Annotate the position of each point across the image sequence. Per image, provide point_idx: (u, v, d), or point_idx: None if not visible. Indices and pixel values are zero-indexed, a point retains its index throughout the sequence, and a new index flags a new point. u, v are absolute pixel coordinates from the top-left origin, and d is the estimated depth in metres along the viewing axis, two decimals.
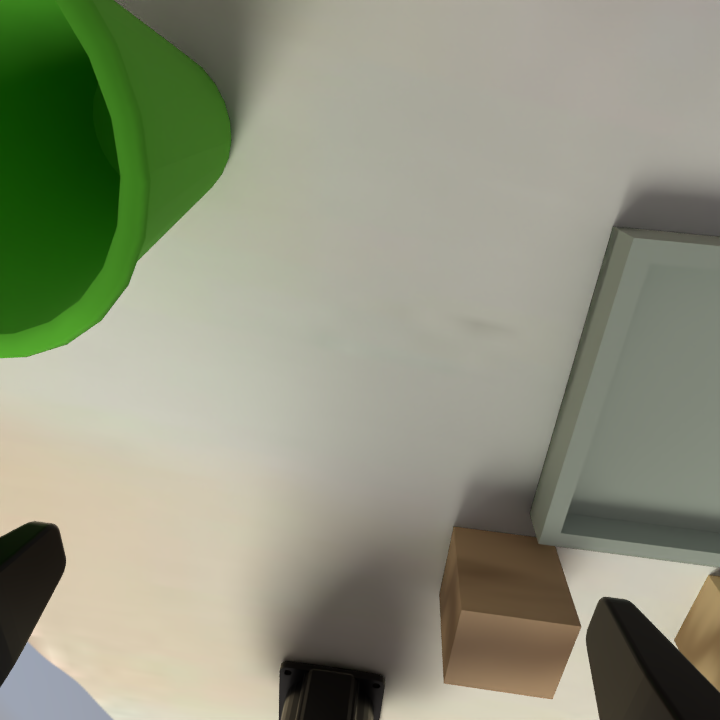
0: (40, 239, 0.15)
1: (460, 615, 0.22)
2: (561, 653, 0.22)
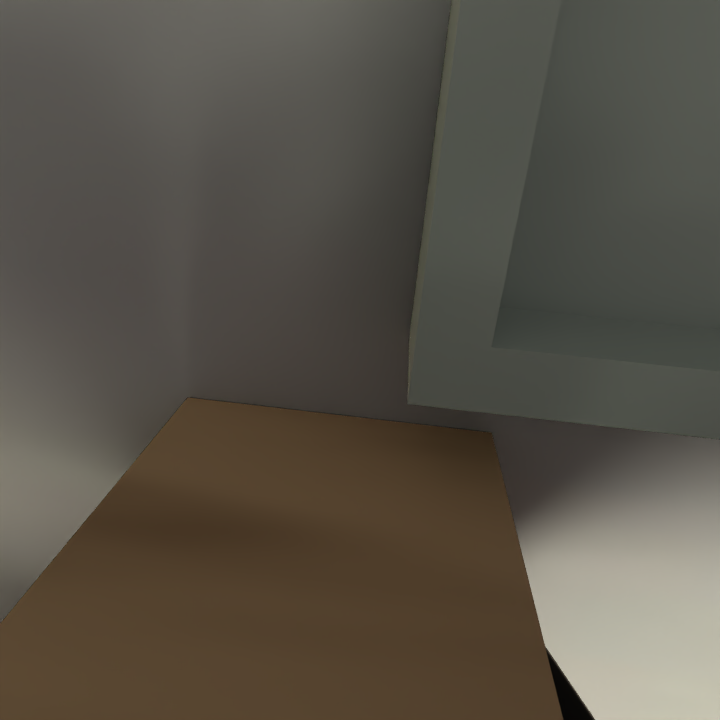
0: None
1: None
2: None
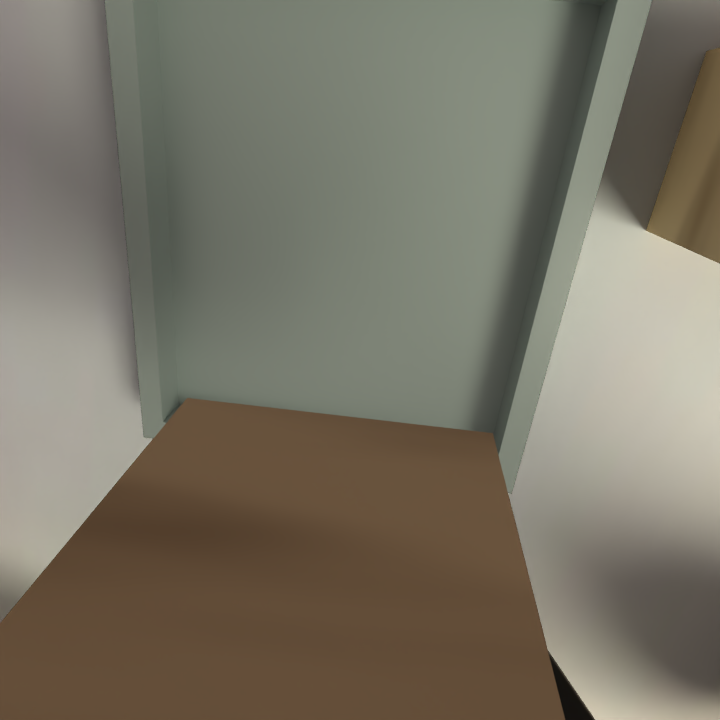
0: None
1: None
2: None
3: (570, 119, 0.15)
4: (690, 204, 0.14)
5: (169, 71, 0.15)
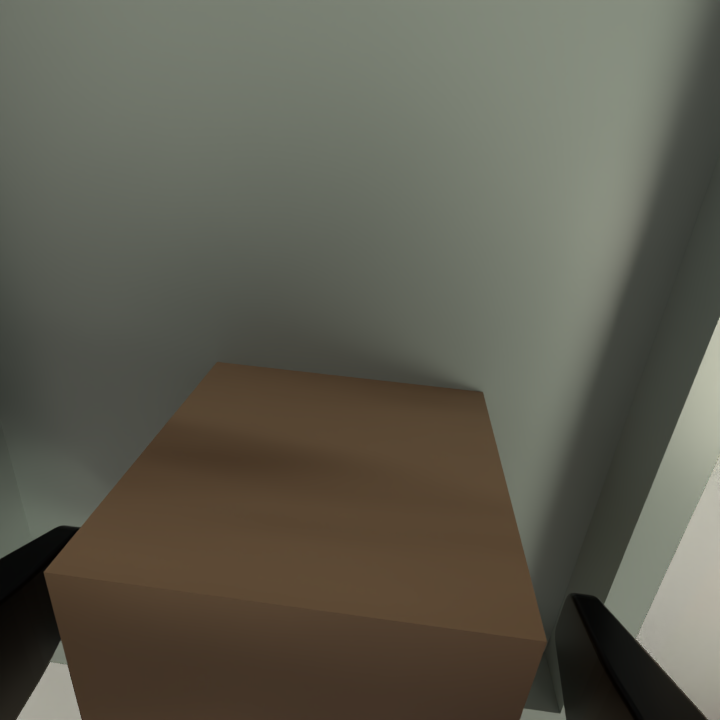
0: None
1: (54, 596, 0.05)
2: None
3: None
4: None
5: None
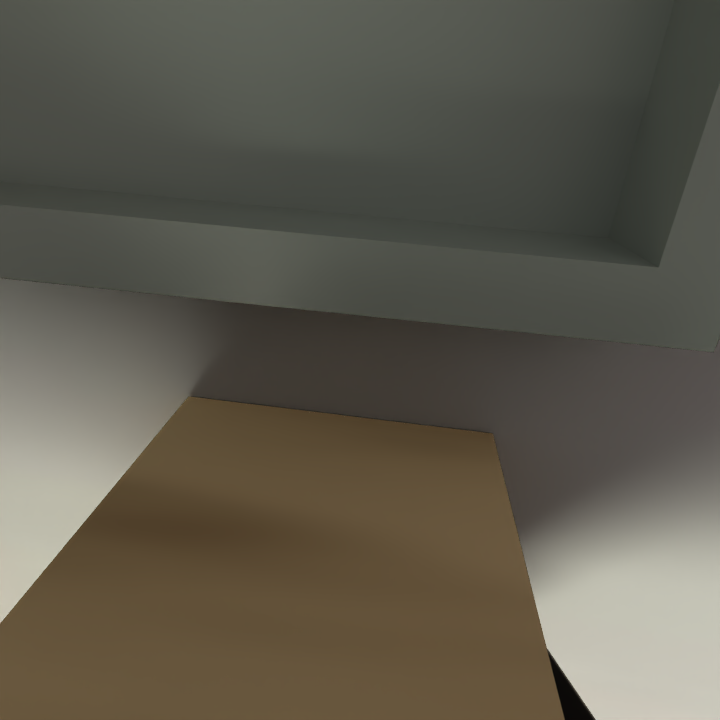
0: None
1: None
2: None
3: (378, 210, 0.06)
4: (203, 490, 0.06)
5: None
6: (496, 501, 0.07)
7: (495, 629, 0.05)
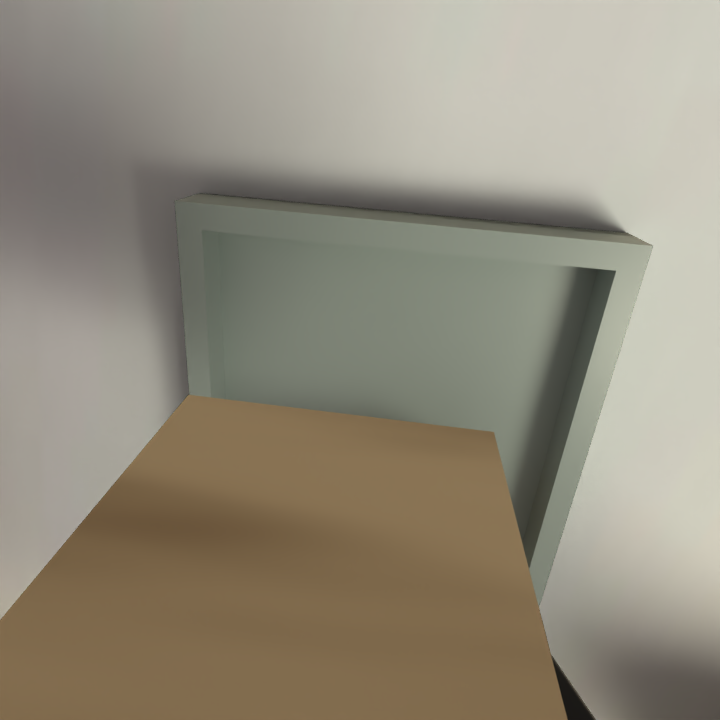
0: None
1: None
2: None
3: (576, 340, 0.17)
4: (203, 488, 0.06)
5: (228, 301, 0.18)
6: (497, 499, 0.07)
7: (497, 628, 0.05)
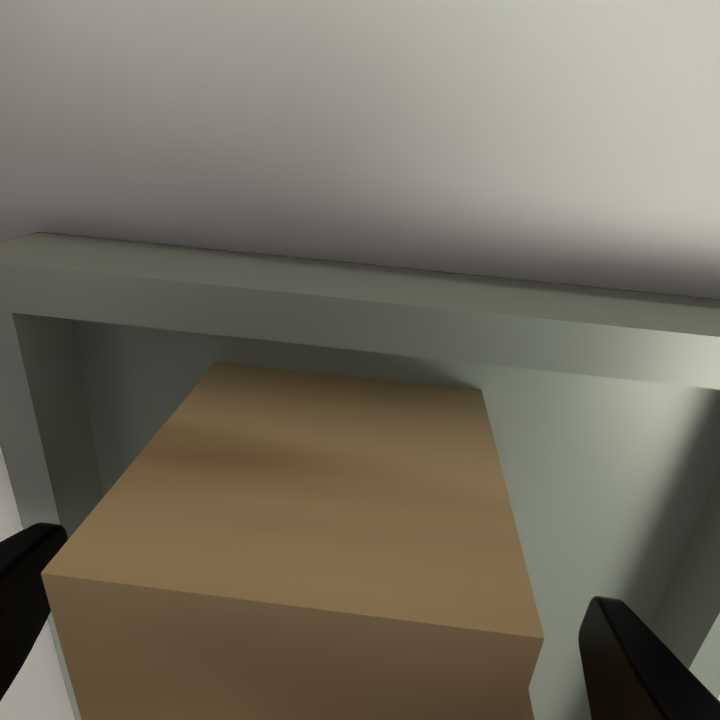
0: None
1: None
2: None
3: (708, 492, 0.10)
4: (234, 431, 0.08)
5: (101, 415, 0.10)
6: (482, 439, 0.08)
7: (478, 525, 0.06)
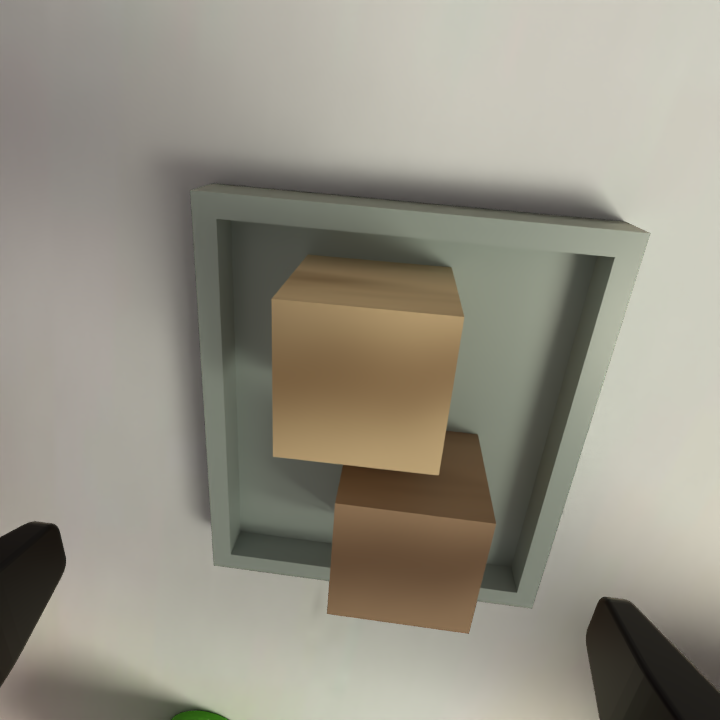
0: None
1: (335, 512, 0.16)
2: (473, 565, 0.16)
3: (576, 326, 0.18)
4: (328, 273, 0.16)
5: (240, 288, 0.19)
6: (449, 280, 0.16)
7: (443, 298, 0.14)
